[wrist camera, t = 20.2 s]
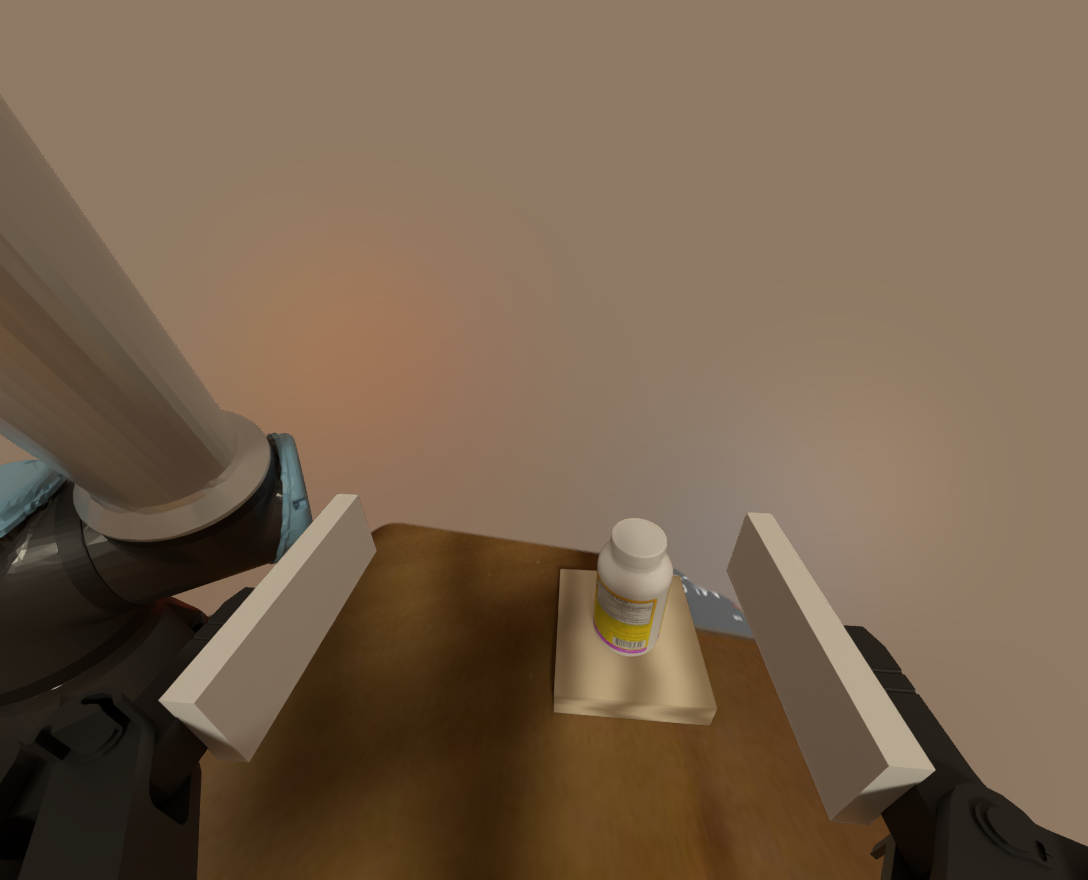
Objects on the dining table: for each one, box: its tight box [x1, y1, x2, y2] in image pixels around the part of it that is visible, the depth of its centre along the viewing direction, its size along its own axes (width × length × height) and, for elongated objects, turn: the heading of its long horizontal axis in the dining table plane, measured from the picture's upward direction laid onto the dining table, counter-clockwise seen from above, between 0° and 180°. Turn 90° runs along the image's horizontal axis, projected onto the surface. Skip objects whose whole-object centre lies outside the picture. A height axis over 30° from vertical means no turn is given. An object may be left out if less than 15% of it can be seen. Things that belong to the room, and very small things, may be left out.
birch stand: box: [554, 569, 717, 725], centre depth 40 cm, size 14×14×3 cm
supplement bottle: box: [593, 518, 673, 657], centre depth 36 cm, size 7×7×13 cm
